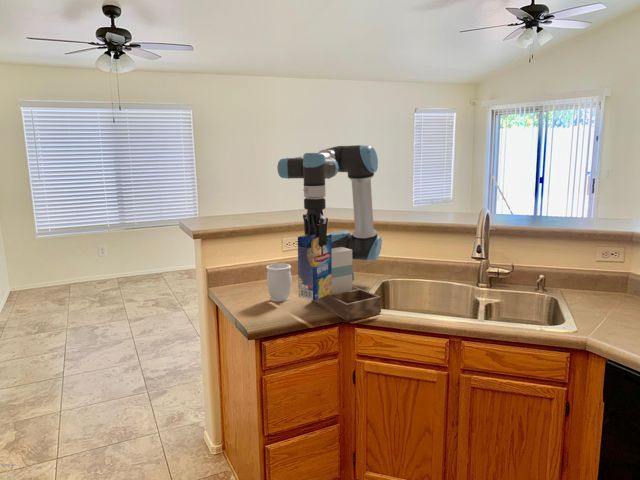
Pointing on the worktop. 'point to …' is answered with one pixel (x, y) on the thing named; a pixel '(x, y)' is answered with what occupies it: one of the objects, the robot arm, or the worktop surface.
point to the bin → (351, 304)
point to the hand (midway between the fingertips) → (315, 262)
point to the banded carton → (341, 270)
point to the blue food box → (314, 267)
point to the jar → (279, 281)
